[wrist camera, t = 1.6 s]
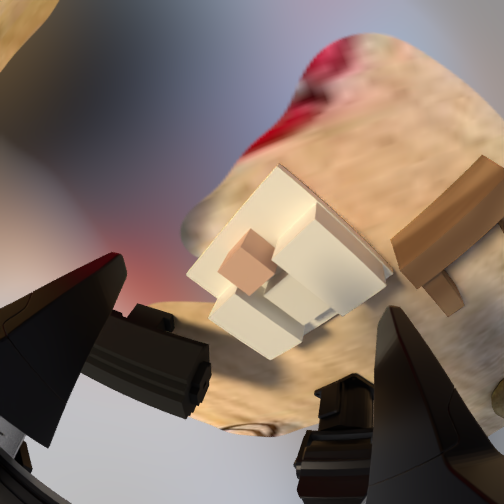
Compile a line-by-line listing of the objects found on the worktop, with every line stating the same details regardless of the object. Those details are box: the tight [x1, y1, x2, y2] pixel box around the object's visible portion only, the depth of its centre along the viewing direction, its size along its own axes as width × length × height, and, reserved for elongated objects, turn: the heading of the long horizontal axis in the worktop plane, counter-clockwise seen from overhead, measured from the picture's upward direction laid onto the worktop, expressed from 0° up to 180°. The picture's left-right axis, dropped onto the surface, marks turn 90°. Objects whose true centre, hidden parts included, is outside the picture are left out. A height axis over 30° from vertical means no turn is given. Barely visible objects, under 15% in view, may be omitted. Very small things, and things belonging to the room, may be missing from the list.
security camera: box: [81, 304, 212, 419], centre depth 28 cm, size 7×18×10 cm, turn 85°
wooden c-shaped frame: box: [186, 164, 393, 360], centre depth 22 cm, size 12×13×4 cm
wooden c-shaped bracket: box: [391, 155, 504, 317], centre depth 16 cm, size 8×10×4 cm
